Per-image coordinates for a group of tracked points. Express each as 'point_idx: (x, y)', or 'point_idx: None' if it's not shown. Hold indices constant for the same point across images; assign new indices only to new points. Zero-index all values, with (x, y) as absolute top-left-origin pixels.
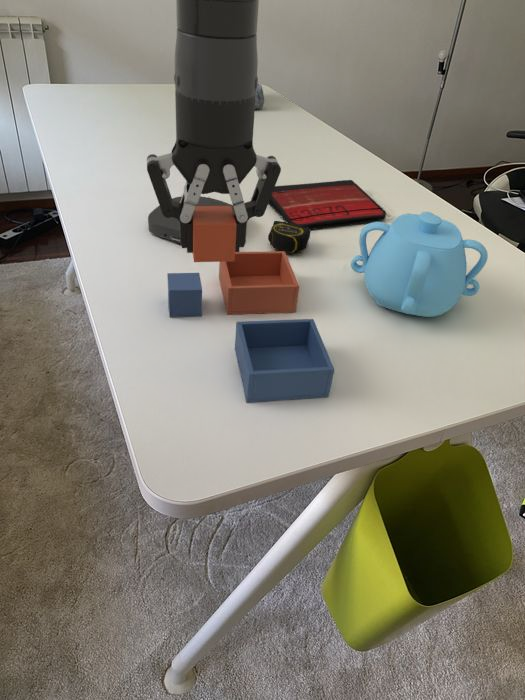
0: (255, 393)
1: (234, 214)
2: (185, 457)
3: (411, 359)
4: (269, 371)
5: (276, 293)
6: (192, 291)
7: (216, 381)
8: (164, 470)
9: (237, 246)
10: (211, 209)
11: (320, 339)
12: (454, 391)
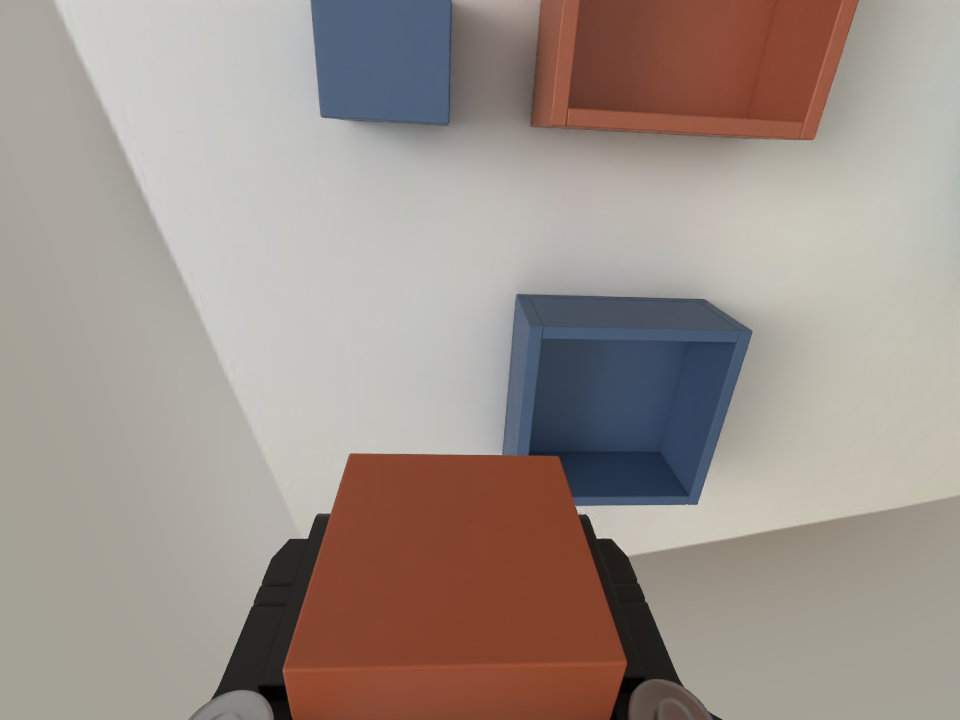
0: None
1: (612, 712)
2: None
3: (903, 369)
4: None
5: (717, 135)
6: (412, 122)
7: (452, 395)
8: None
9: None
10: (453, 711)
11: (722, 415)
12: (905, 458)
